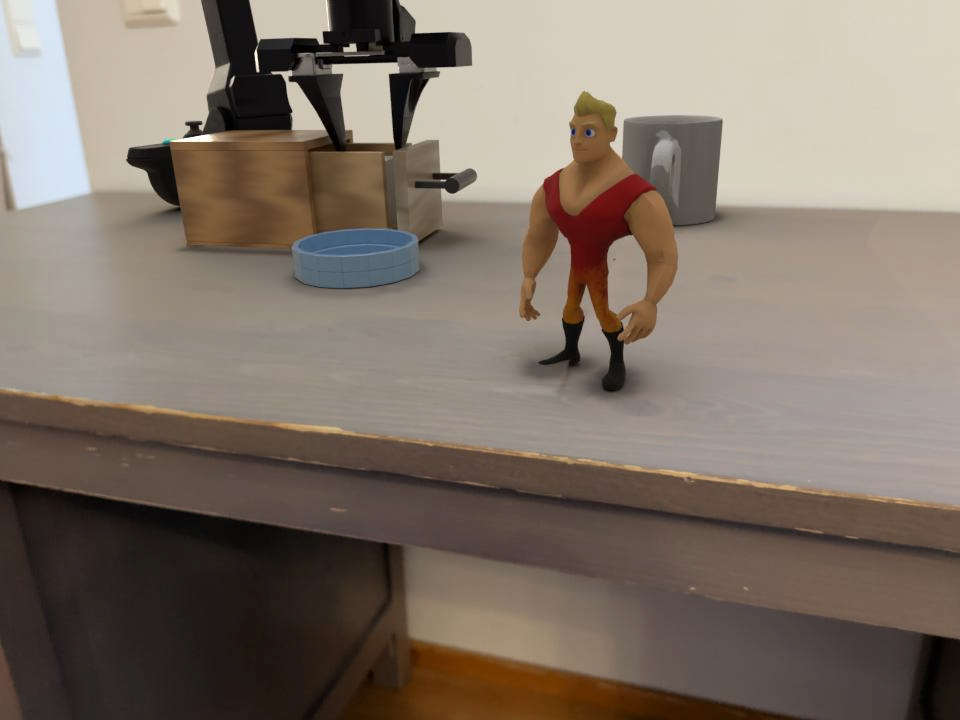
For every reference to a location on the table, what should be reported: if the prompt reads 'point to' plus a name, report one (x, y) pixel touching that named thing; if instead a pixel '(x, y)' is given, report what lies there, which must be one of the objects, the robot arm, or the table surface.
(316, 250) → the bowl
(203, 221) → the cabinet
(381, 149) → the drawer
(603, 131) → the action figure
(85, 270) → the table surface
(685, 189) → the coffee mug
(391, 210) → the block
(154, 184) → the controller
